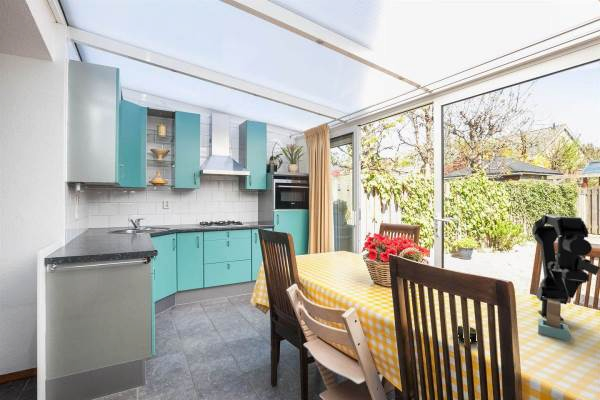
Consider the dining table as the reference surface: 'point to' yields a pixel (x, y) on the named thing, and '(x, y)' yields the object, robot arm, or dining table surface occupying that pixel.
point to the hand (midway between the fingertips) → (565, 294)
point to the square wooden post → (553, 314)
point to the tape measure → (472, 334)
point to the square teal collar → (553, 330)
